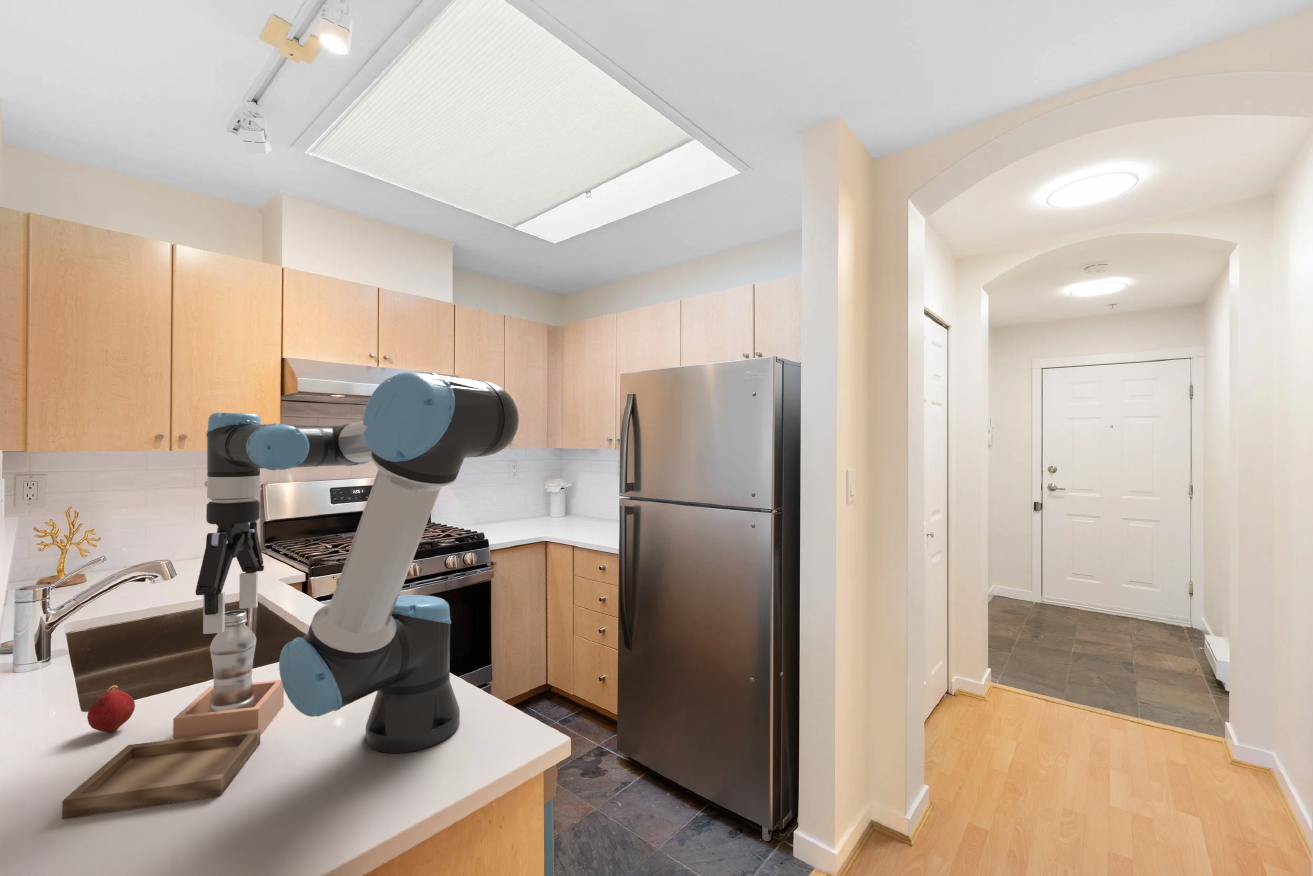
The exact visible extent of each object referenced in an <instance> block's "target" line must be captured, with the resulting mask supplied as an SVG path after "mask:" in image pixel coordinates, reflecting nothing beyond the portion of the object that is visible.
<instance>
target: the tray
mask: <svg viewBox="0 0 1313 876" xmlns="http://www.w3.org/2000/svg"><path fill="white" fill-rule="evenodd" d="M260 745H261V736H260V729H256V730H248V731H239V732H231V733H223V734H215V735H206V736H198V737H190V738H182V739H167V740H158V741H150V742H143V743H142V742H141V743H134V744H128V745H126V746H125V747H124V748H122V750H120V751H119V752H118V753H117V754H116V755H114V756H113V757H112V758H111V759H110V760H109V761H108V762H106V763H105V764H104V765H103V766H101V767H100V768H99V769H97V771H96V772H94V773H93V774H92V775H90V776H89V777H88V778H87V779H86V780H85V781H83V782H82V784H80V785H78V787H76V788H75V789H74V790H72V792H71V793H69V794H68V795H67V796H66V797H65V798H64V799H63V800H62V801H61V820H67V819H68V820H69V819H73V818H79V817H80V818H81V817H87V816H94V815H101V814H108V813H113V812H114V813H115V812H121V811H129V810H135V809H143V808H149V807H155V806H156V807H157V806H161V805H162V806H163V805H169V804H174V803H175V804H176V803H183V802H189V801H196V800H202V799H203V800H204V799H209V798H216V797H222V795H223V794H224V792H225V791H226V789H227V788H229V786H230V785H231V783H232V782H233V780H235V778H236V777H237V775H238V774H239V773H240V772H241V770H242V769H243V767H245V765H246V763H247V762H248V761H249V759H250V758H251V757H252V756H253V754H254V753H255V752H256V750H257V749H258V747H259V746H260Z"/></svg>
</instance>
